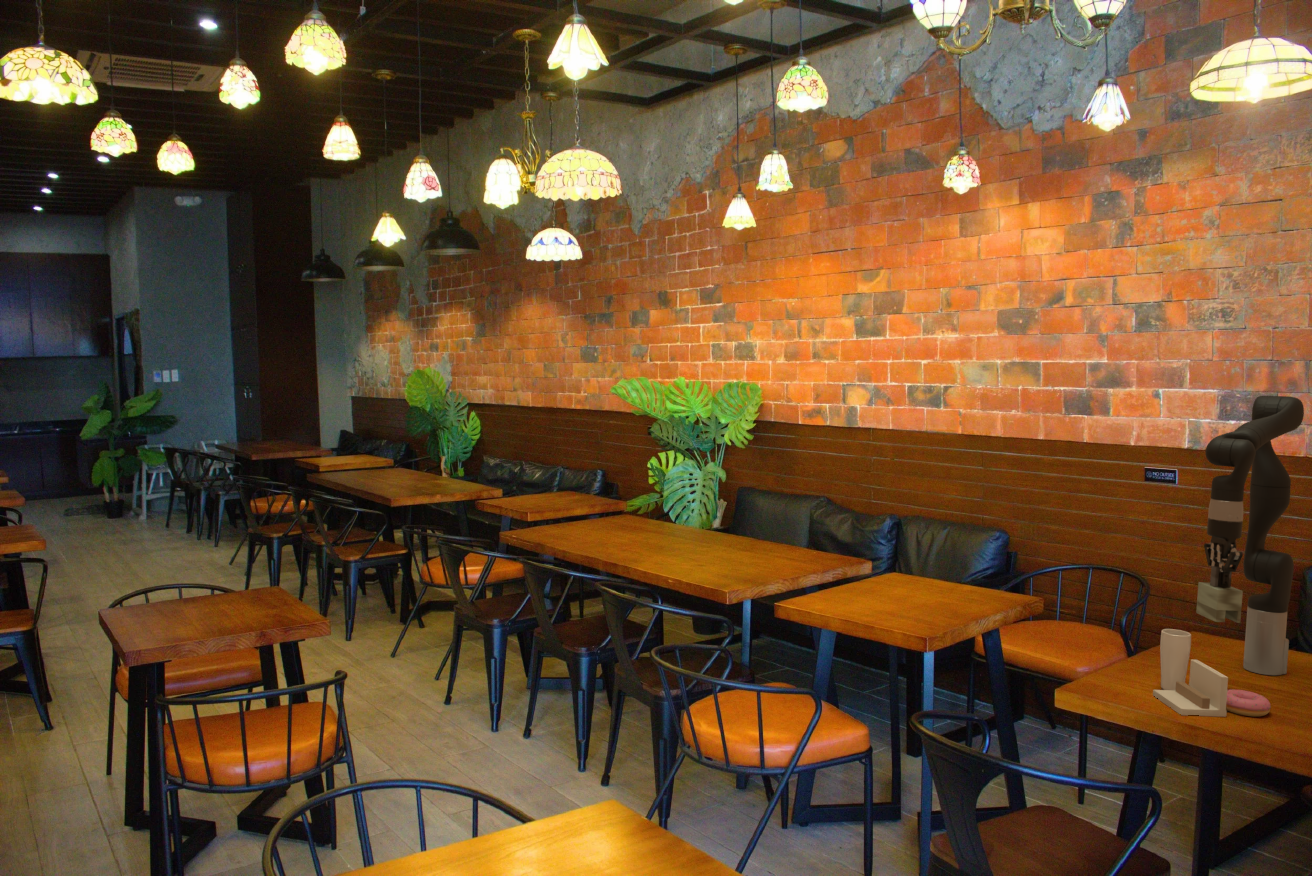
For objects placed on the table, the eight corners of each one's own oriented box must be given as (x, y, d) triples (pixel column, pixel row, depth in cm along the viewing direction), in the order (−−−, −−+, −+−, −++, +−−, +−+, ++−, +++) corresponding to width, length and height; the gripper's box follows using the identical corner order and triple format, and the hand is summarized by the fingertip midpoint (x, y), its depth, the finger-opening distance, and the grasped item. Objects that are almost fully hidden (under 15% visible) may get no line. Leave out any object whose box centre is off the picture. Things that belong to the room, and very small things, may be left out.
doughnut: (1221, 699, 239) (1222, 683, 239) (1273, 710, 232) (1274, 693, 232) (1213, 711, 231) (1214, 694, 230) (1267, 722, 224) (1268, 705, 223)
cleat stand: (1195, 696, 240) (1197, 659, 239) (1226, 716, 226) (1228, 677, 226) (1152, 695, 240) (1155, 658, 240) (1181, 715, 227) (1183, 676, 226)
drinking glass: (1191, 695, 241) (1195, 637, 240) (1162, 693, 242) (1166, 634, 241) (1182, 686, 248) (1186, 629, 246) (1153, 684, 249) (1157, 627, 248)
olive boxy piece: (1219, 613, 246) (1223, 563, 245) (1240, 622, 237) (1244, 571, 236) (1196, 612, 246) (1199, 562, 246) (1215, 621, 237) (1219, 570, 237)
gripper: (1257, 522, 233) (1251, 593, 234) (1224, 514, 247) (1219, 580, 248) (1225, 521, 233) (1220, 591, 235) (1195, 513, 247) (1190, 579, 248)
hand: (1220, 585), depth 241 cm, fingers closed on olive boxy piece
